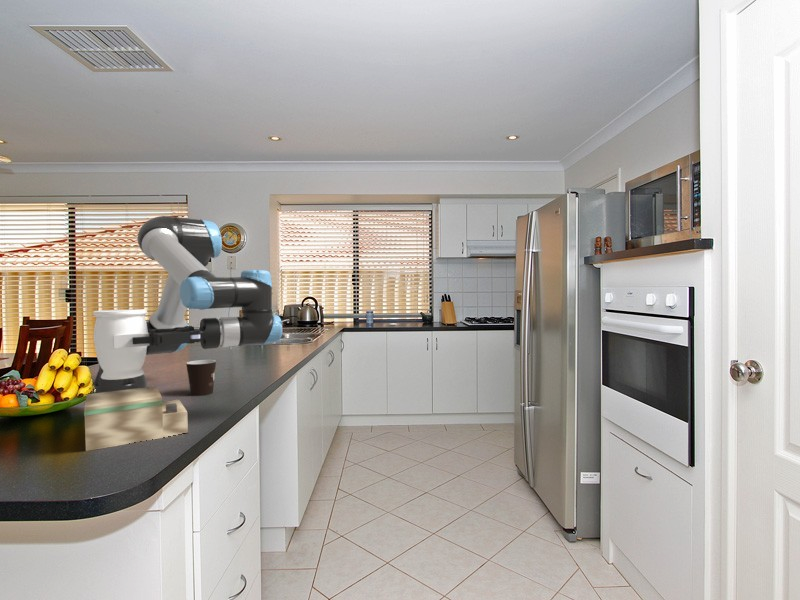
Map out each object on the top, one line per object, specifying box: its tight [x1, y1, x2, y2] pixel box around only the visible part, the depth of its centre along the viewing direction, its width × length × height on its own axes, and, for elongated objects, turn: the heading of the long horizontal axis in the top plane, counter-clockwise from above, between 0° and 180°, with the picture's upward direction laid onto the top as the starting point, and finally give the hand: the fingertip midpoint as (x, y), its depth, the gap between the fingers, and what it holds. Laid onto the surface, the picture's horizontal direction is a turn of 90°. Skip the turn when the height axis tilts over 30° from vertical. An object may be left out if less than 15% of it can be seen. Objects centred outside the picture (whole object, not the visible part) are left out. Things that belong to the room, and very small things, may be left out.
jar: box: [92, 308, 148, 380], centre depth 100 cm, size 11×10×15 cm
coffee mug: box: [185, 359, 217, 397], centre depth 143 cm, size 12×9×10 cm
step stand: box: [83, 386, 189, 452], centre depth 102 cm, size 19×14×9 cm
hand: (113, 339), depth 100 cm, fingers closed on jar, 10 cm apart
